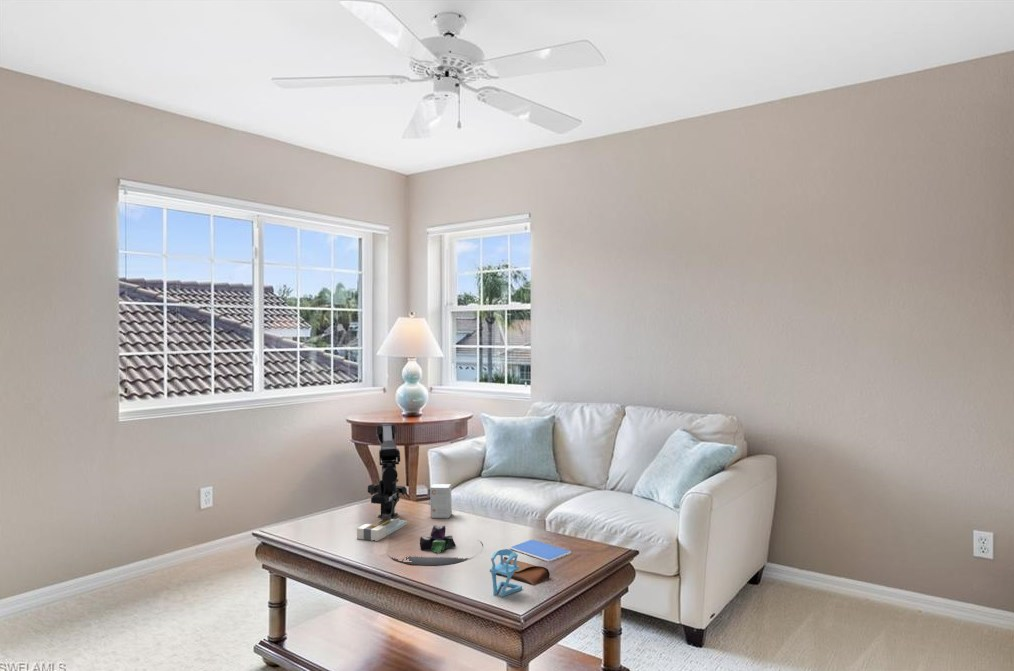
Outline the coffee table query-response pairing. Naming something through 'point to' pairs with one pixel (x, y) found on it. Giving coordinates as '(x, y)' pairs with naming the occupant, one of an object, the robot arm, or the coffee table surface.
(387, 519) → the bolt
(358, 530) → the door and jamb
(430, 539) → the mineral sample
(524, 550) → the tablet computer
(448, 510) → the small box
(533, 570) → the sunglasses case
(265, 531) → the coffee table surface
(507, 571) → the chair
